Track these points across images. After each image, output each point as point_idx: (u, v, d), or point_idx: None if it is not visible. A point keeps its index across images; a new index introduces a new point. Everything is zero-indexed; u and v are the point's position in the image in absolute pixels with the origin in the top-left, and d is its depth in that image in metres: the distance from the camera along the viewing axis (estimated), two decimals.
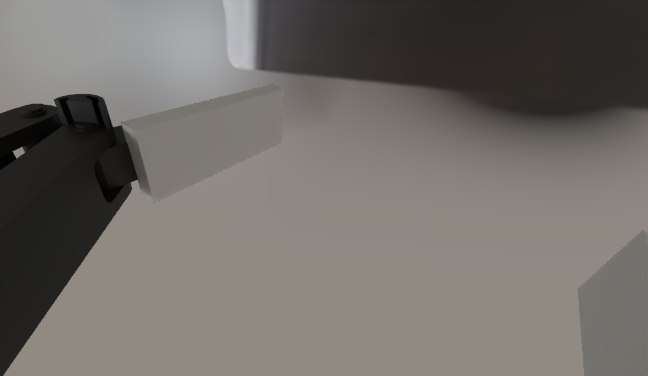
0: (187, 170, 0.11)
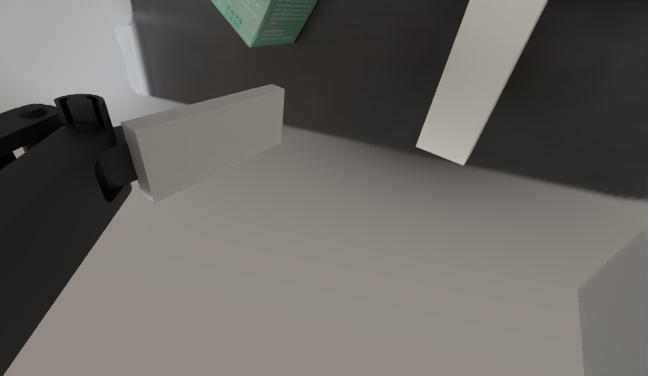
0: (187, 170, 0.11)
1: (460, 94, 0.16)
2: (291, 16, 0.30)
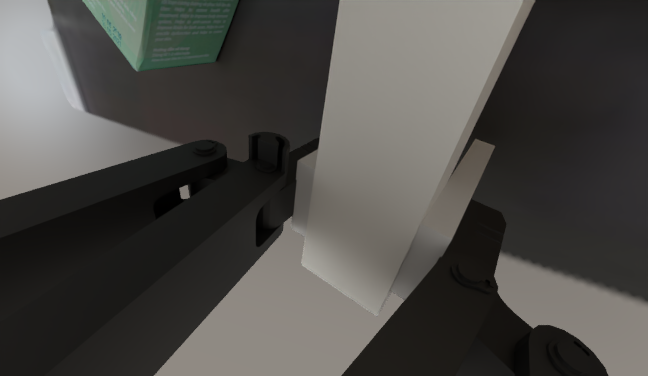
0: None
1: (354, 198, 0.07)
2: (195, 30, 0.22)
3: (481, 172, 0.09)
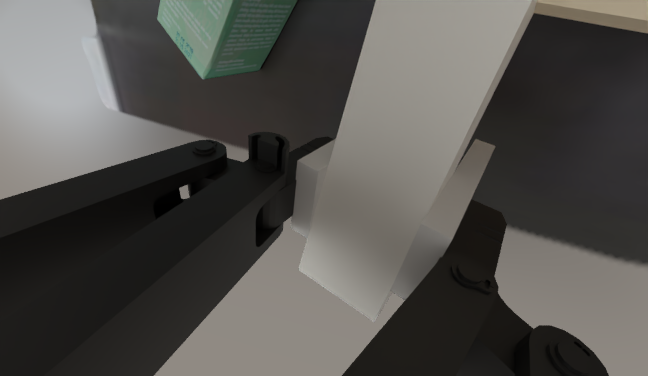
0: None
1: (363, 194, 0.08)
2: (251, 46, 0.26)
3: (481, 172, 0.09)
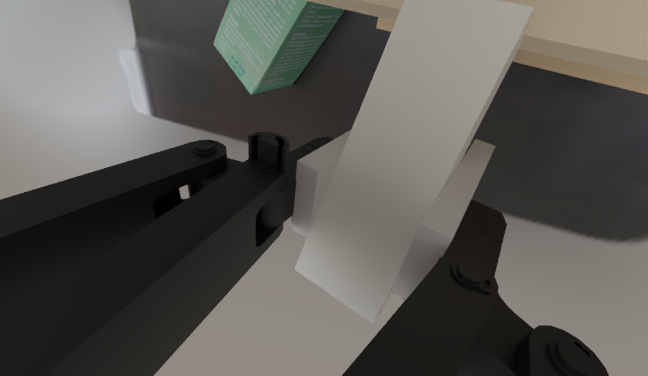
0: None
1: (373, 185, 0.08)
2: (291, 67, 0.32)
3: (481, 172, 0.09)
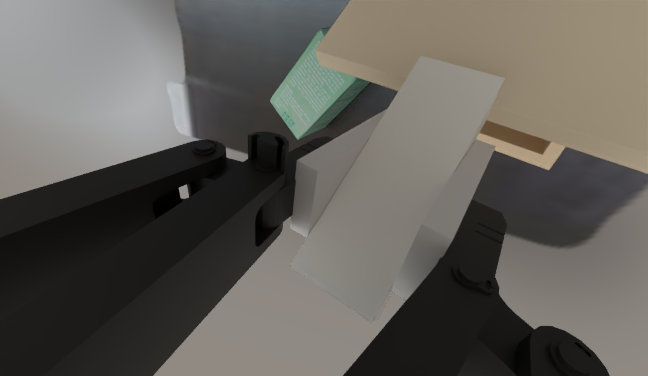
0: None
1: (382, 186, 0.09)
2: (327, 119, 0.43)
3: (482, 172, 0.09)
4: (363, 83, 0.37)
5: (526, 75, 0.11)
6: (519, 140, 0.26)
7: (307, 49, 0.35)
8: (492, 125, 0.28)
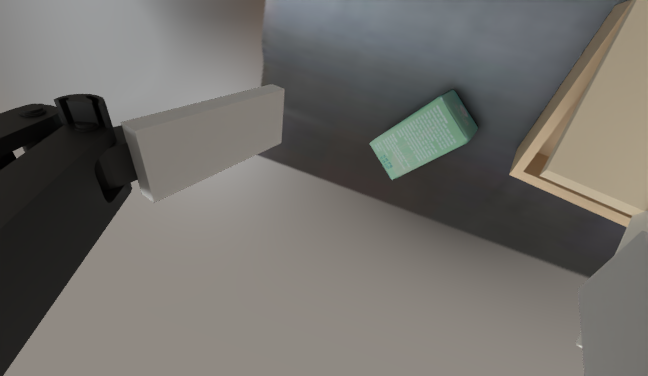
0: (187, 170, 0.11)
1: None
2: None
3: None
4: None
5: None
6: None
7: (423, 109, 0.40)
8: None
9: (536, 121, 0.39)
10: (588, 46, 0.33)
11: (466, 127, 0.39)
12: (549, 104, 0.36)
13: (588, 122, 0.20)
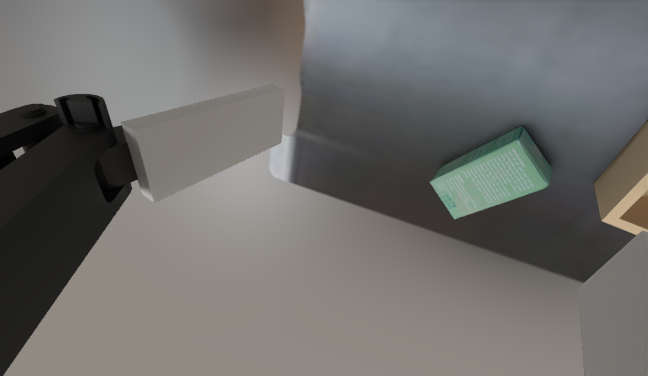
0: (187, 170, 0.11)
1: None
2: None
3: None
4: None
5: None
6: None
7: (496, 152, 0.38)
8: None
9: (618, 156, 0.36)
10: None
11: (544, 170, 0.37)
12: (637, 141, 0.34)
13: None
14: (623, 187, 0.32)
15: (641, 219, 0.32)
